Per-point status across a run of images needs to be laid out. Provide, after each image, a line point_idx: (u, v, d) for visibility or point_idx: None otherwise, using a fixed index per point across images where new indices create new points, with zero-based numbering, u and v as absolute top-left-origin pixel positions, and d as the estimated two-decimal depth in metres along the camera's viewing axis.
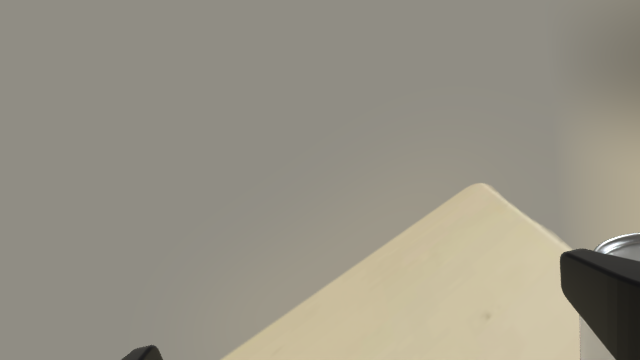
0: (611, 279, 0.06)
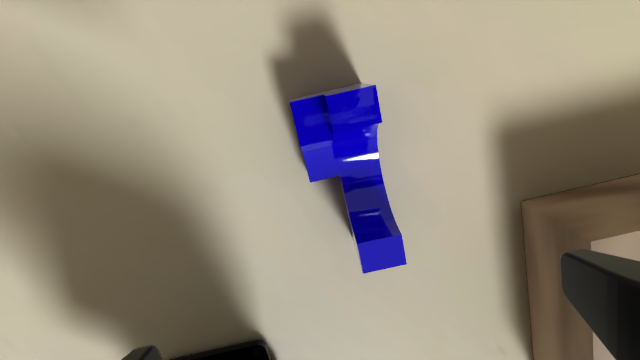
0: (611, 279, 0.06)
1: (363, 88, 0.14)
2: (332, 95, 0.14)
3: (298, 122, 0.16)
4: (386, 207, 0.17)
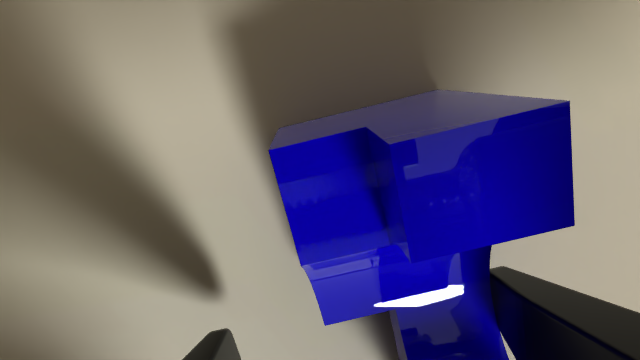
0: (518, 300, 0.06)
1: (524, 114, 0.04)
2: (413, 141, 0.04)
3: (294, 204, 0.06)
4: None
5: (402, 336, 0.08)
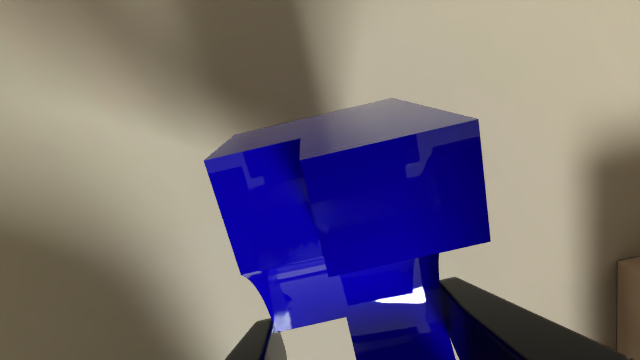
0: (461, 312, 0.06)
1: (434, 132, 0.04)
2: (324, 157, 0.04)
3: (231, 214, 0.06)
4: None
5: (353, 343, 0.08)
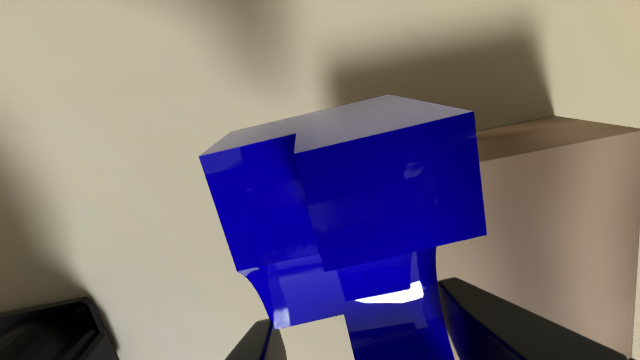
0: (461, 312, 0.06)
1: (429, 125, 0.04)
2: (319, 150, 0.04)
3: (227, 210, 0.06)
4: None
5: (351, 341, 0.08)
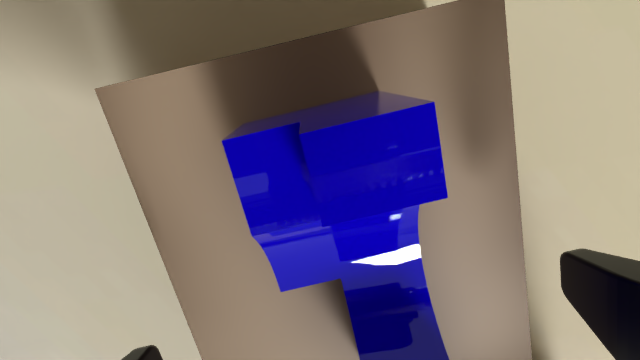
0: (611, 279, 0.06)
1: (401, 112, 0.05)
2: (317, 132, 0.05)
3: (244, 185, 0.07)
4: (436, 346, 0.08)
5: (347, 301, 0.09)
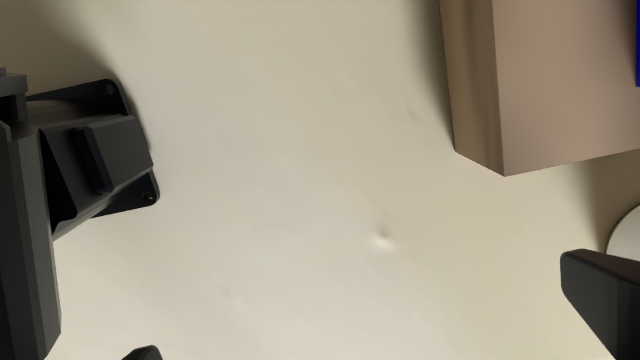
0: (611, 279, 0.06)
1: None
2: None
3: None
4: None
5: None
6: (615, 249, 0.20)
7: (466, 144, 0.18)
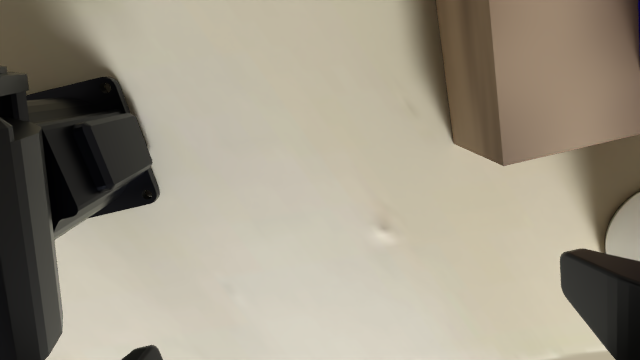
0: (611, 279, 0.06)
1: None
2: None
3: None
4: None
5: None
6: (614, 237, 0.20)
7: (464, 135, 0.18)
